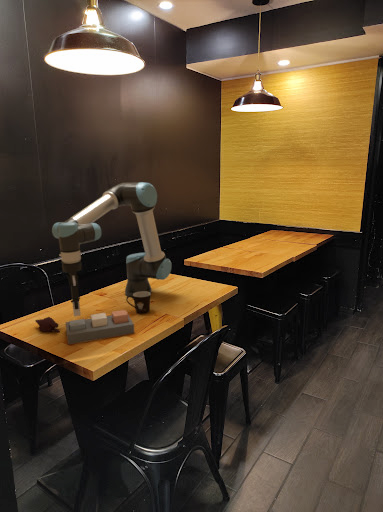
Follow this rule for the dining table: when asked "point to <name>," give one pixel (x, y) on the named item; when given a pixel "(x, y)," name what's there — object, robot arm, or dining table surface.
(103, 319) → the white key
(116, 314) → the terracotta key
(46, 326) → the dark brown irregular piece
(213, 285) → the dining table surface
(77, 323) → the slate key
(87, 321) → the key panel
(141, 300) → the coffee mug
